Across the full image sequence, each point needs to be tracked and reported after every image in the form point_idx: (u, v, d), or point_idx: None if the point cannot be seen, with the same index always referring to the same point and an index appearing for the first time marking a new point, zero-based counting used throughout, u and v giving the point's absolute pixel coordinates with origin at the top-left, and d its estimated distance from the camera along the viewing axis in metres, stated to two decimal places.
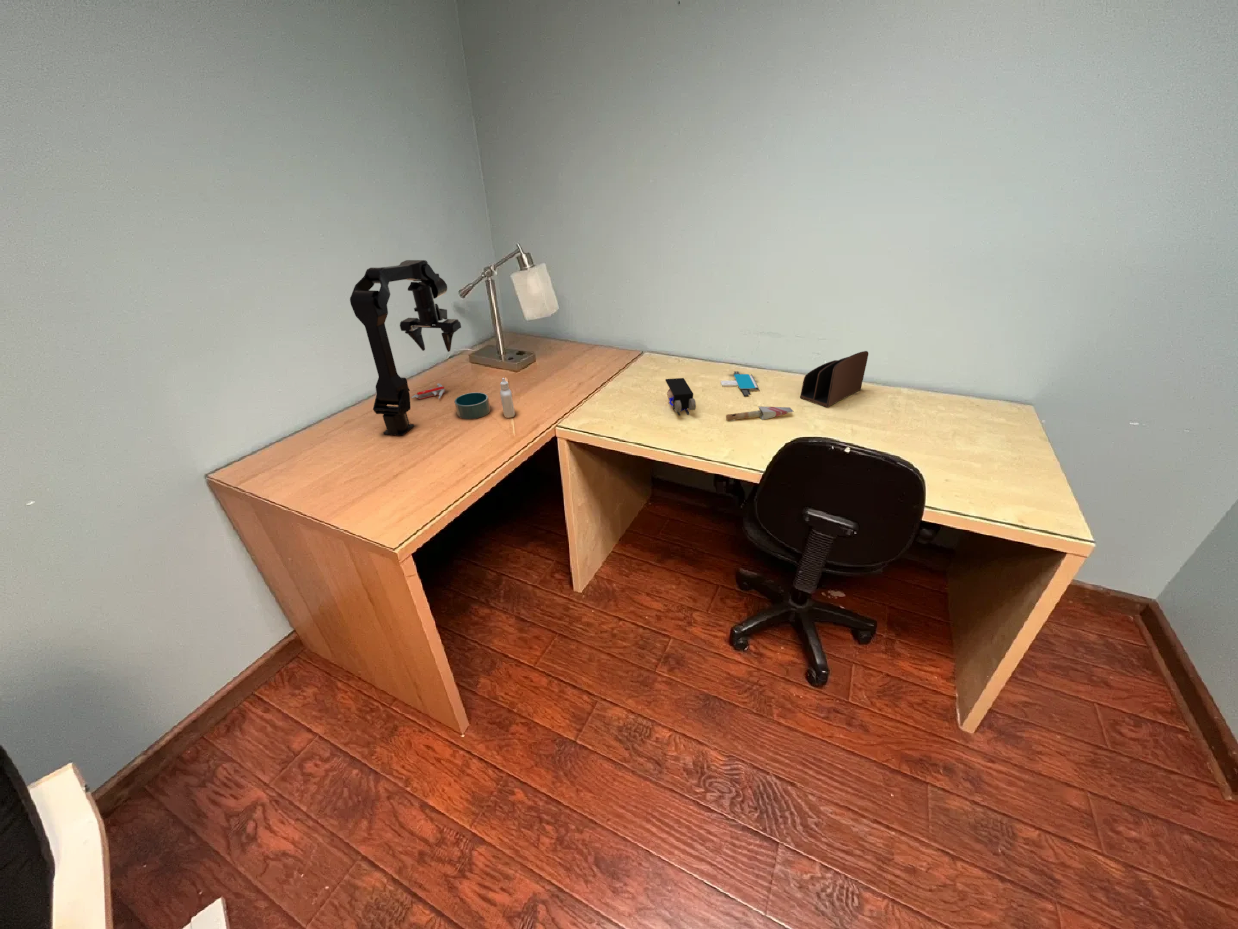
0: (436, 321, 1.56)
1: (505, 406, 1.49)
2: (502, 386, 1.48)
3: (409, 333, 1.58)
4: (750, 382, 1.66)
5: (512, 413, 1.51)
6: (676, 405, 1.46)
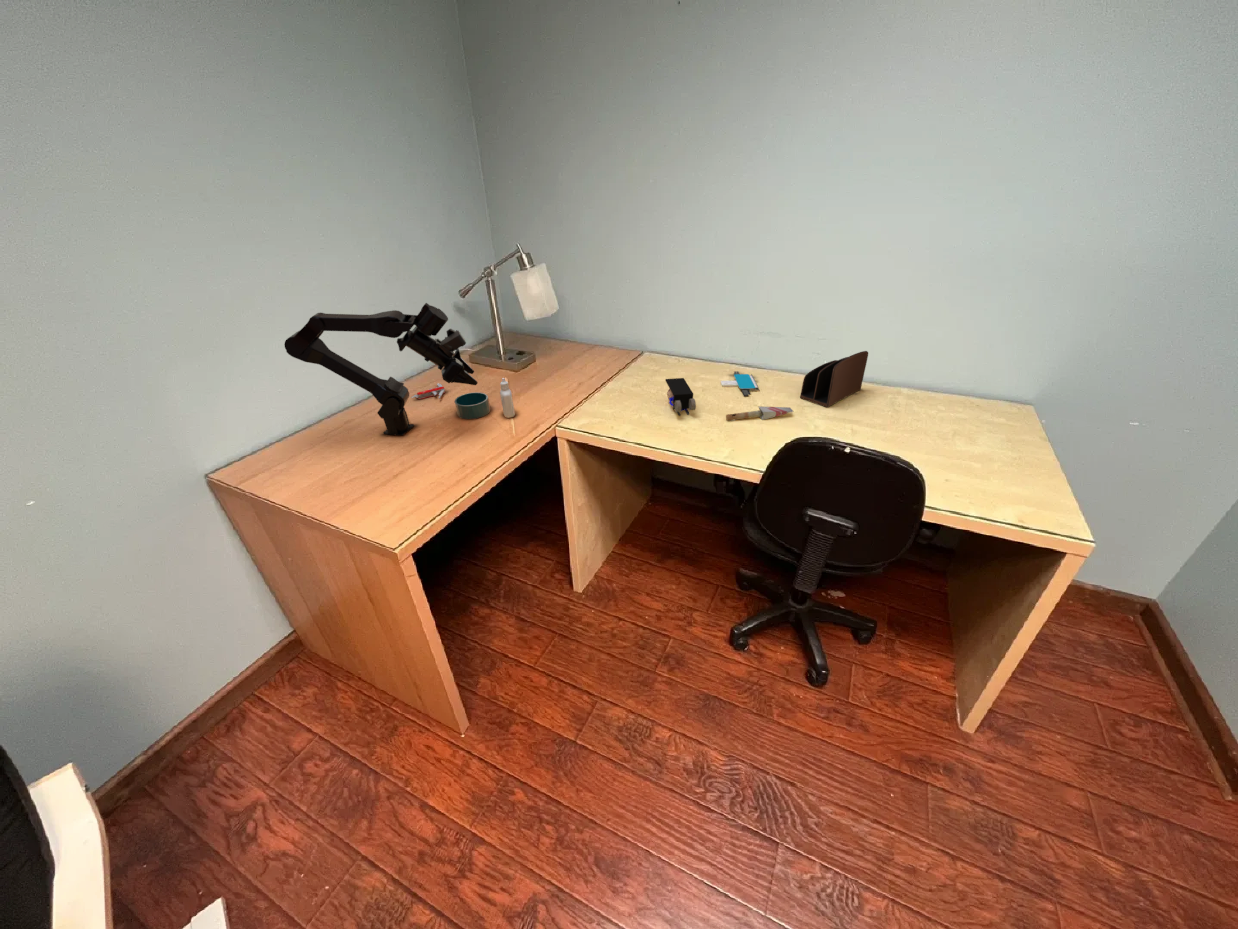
0: (444, 363, 1.37)
1: (505, 406, 1.49)
2: (502, 386, 1.48)
3: None
4: (750, 382, 1.66)
5: (512, 413, 1.51)
6: (676, 405, 1.46)
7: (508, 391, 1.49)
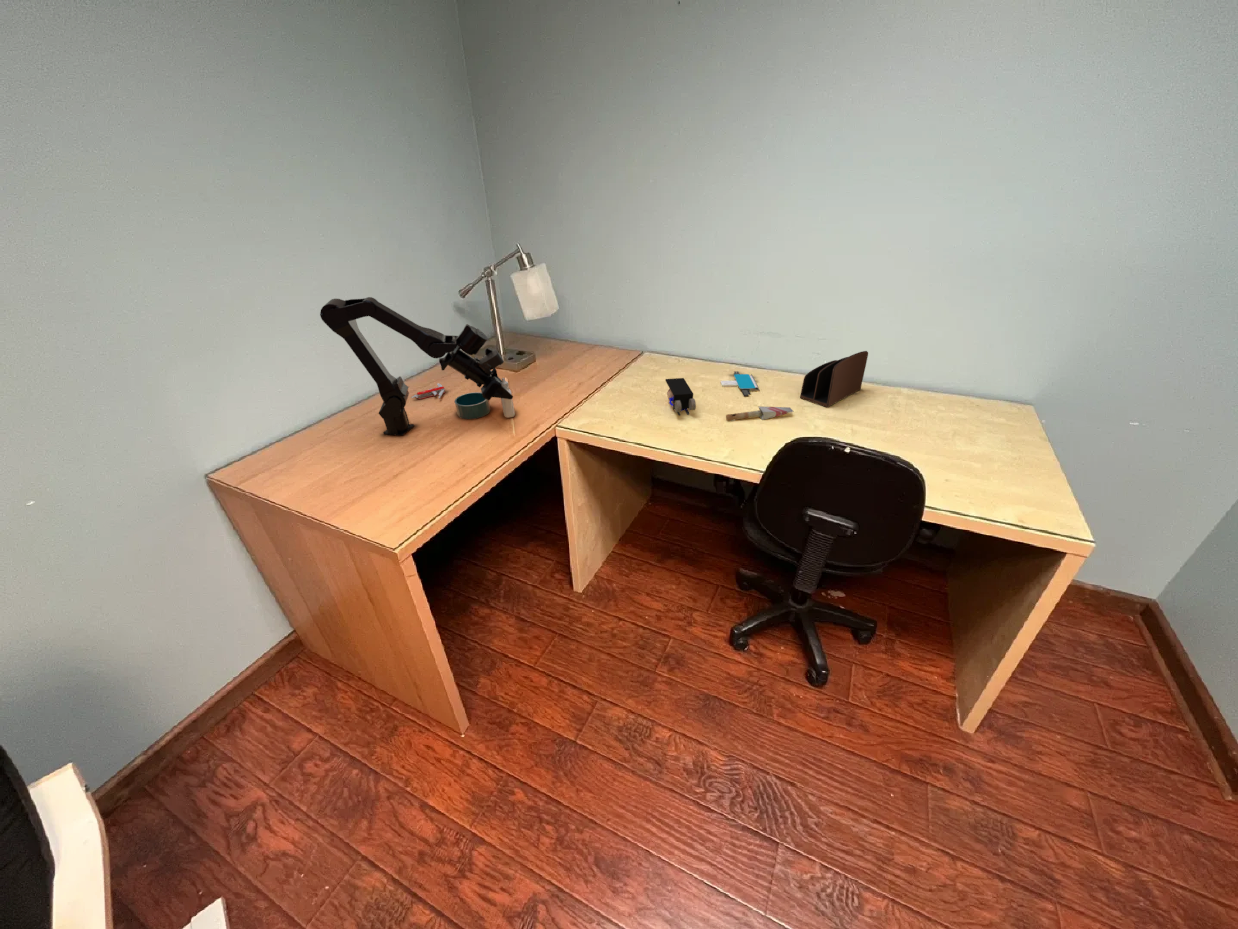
0: (483, 380, 1.43)
1: (505, 406, 1.49)
2: None
3: None
4: (750, 382, 1.66)
5: (512, 413, 1.51)
6: (676, 405, 1.46)
7: (508, 391, 1.49)
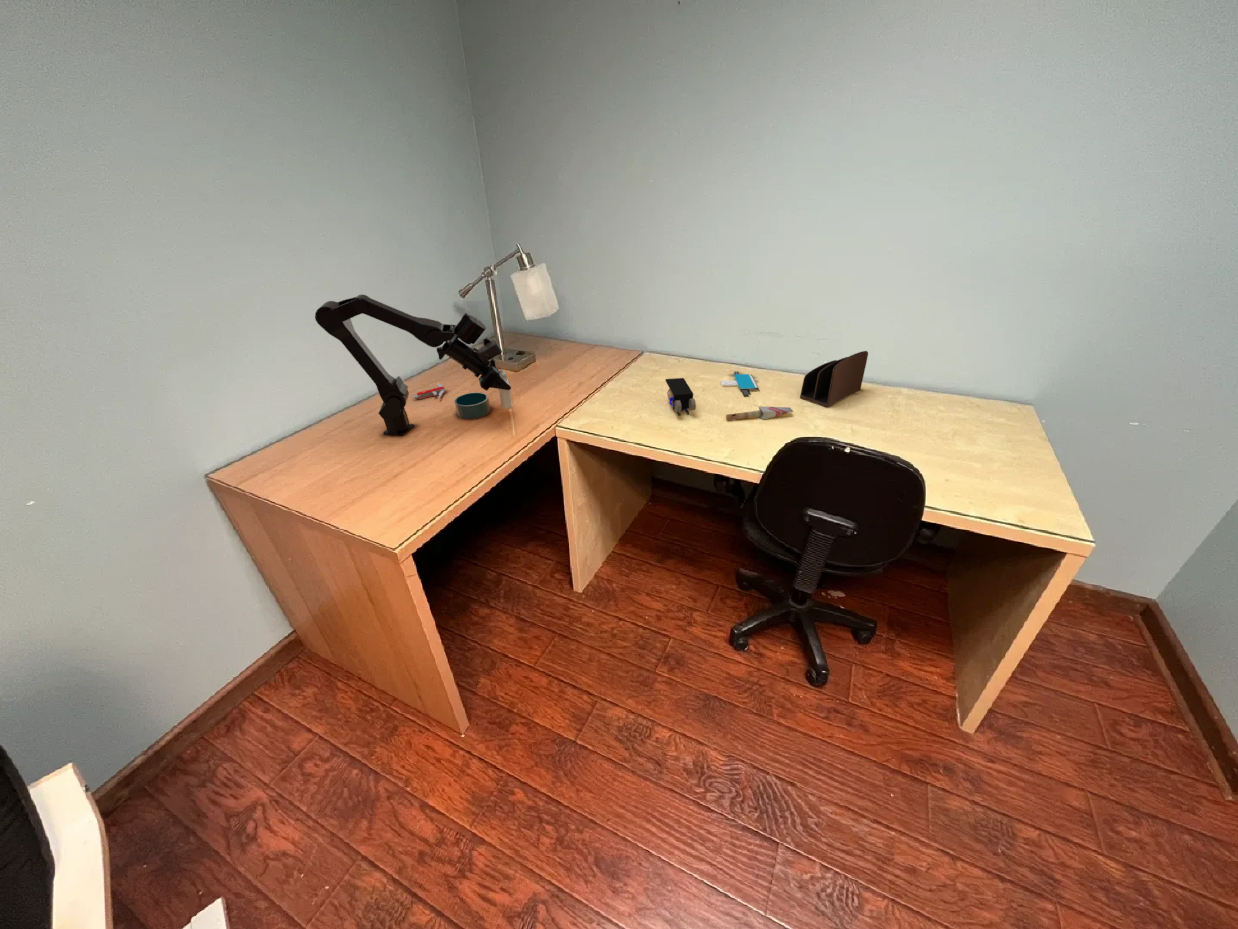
0: (481, 371, 1.41)
1: (503, 397, 1.48)
2: None
3: None
4: (750, 382, 1.66)
5: (510, 404, 1.50)
6: (676, 405, 1.46)
7: None
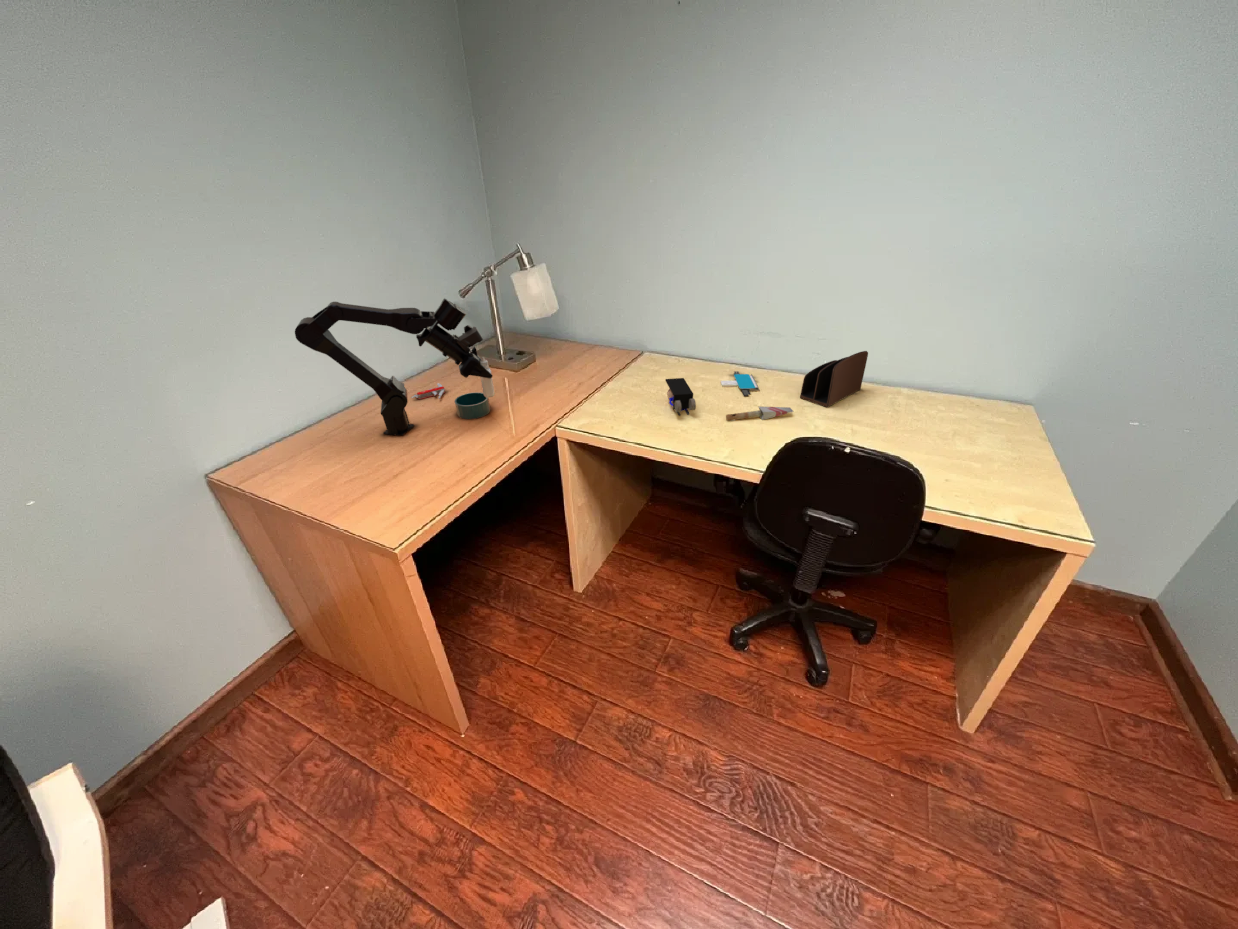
0: (462, 358, 1.40)
1: (484, 385, 1.47)
2: None
3: None
4: (750, 382, 1.66)
5: (492, 393, 1.49)
6: (676, 405, 1.46)
7: (488, 370, 1.46)
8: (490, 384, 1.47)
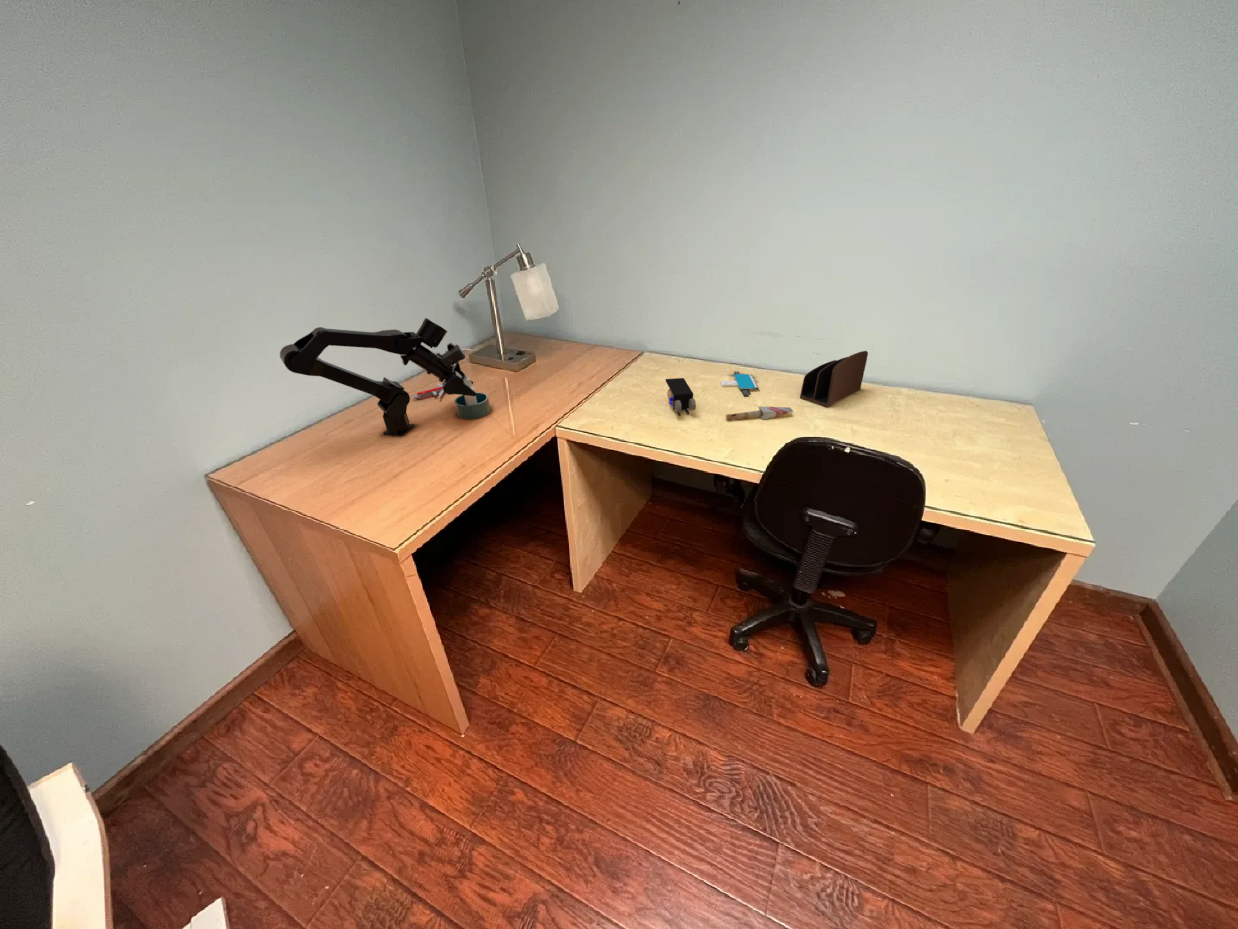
0: (445, 375, 1.45)
1: (468, 402, 1.51)
2: (464, 382, 1.50)
3: None
4: (750, 382, 1.66)
5: None
6: (676, 405, 1.46)
7: (471, 387, 1.51)
8: (473, 401, 1.52)
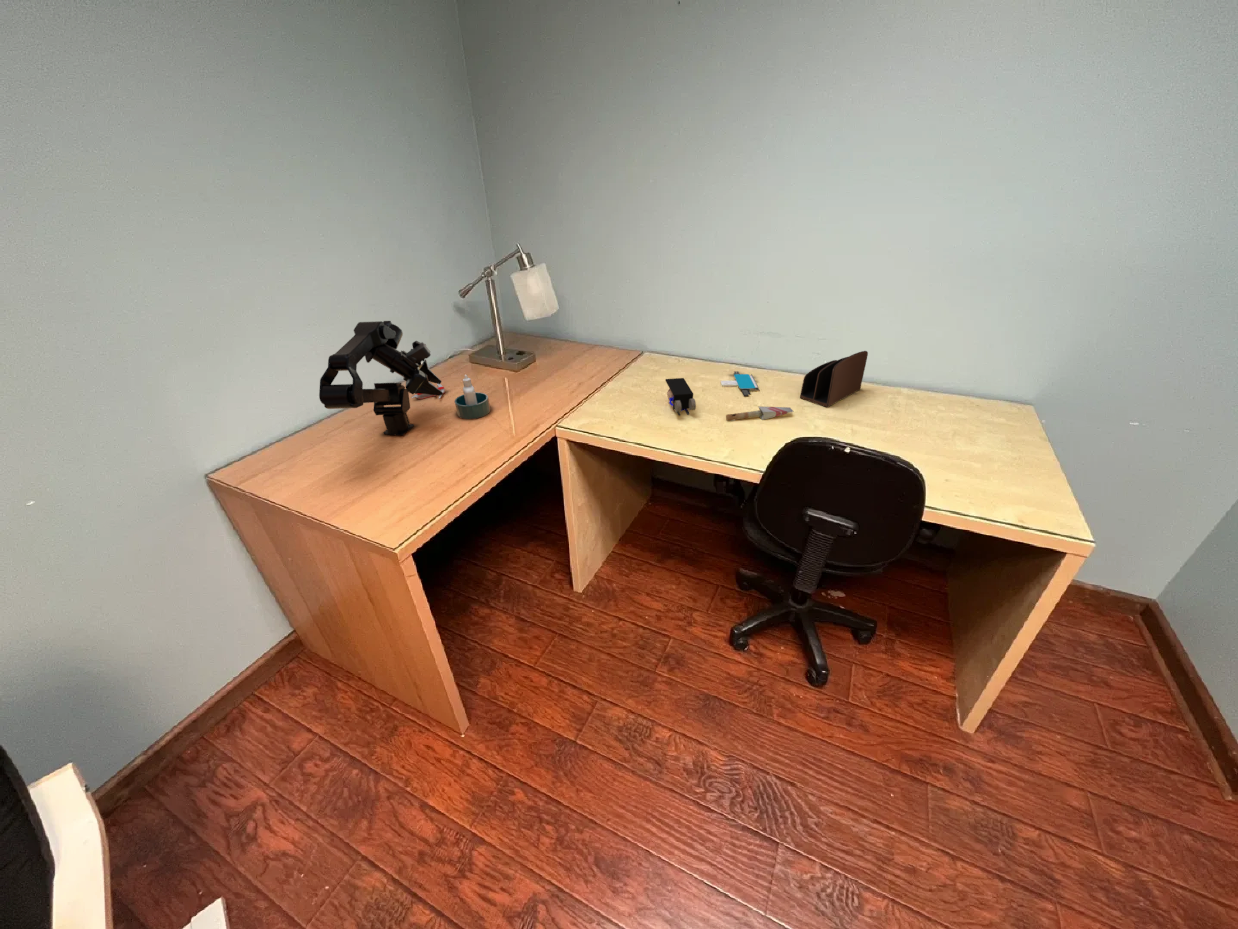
0: (409, 374, 1.41)
1: (468, 402, 1.51)
2: (464, 382, 1.50)
3: None
4: (750, 382, 1.66)
5: None
6: (676, 405, 1.46)
7: (471, 387, 1.51)
8: (473, 401, 1.52)
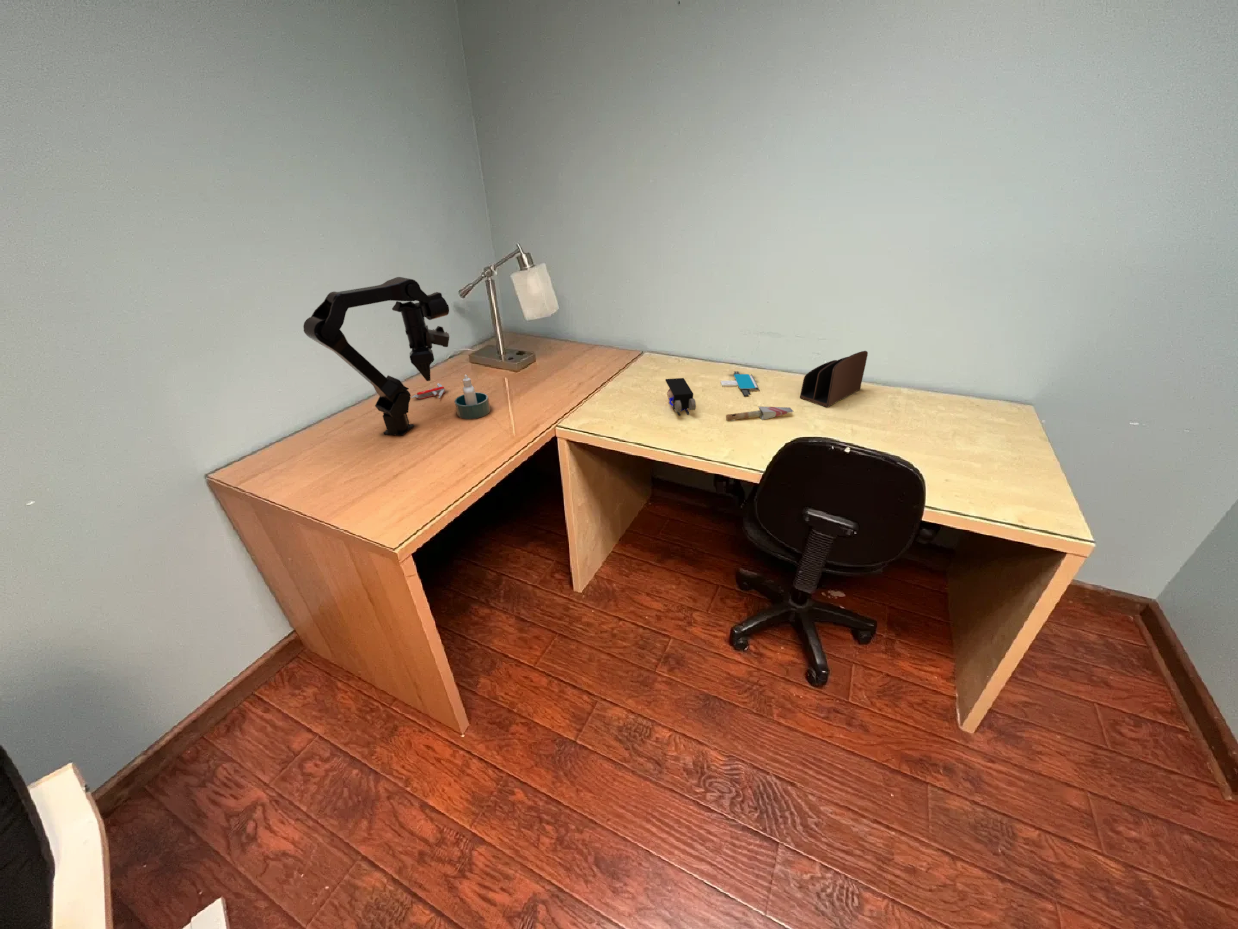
0: (418, 346, 1.41)
1: (468, 402, 1.51)
2: (464, 382, 1.50)
3: (412, 349, 1.50)
4: (750, 382, 1.66)
5: None
6: (676, 405, 1.46)
7: (471, 387, 1.51)
8: (473, 401, 1.52)
